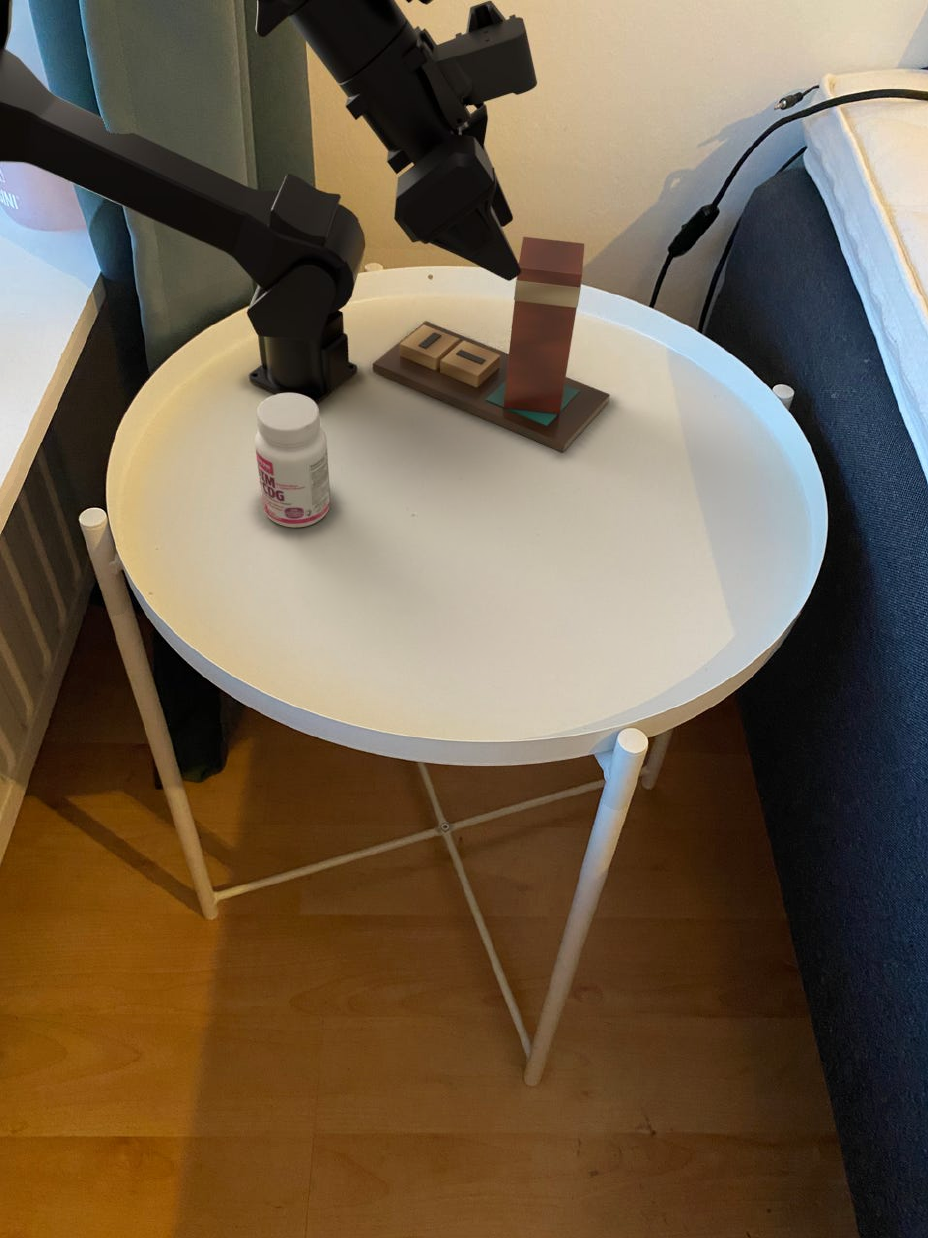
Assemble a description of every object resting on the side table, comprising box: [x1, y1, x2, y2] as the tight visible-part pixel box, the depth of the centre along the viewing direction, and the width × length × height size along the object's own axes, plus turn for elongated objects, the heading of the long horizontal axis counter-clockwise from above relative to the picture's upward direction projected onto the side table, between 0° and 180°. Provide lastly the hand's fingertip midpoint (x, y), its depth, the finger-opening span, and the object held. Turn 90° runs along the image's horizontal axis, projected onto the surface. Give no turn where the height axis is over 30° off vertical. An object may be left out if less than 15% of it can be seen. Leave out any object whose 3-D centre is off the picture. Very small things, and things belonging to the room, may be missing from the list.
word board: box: [372, 320, 611, 453], centre depth 79 cm, size 18×8×2 cm, turn 58°
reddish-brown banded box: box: [503, 236, 585, 414], centre depth 74 cm, size 5×5×12 cm
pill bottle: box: [254, 393, 331, 528], centre depth 66 cm, size 5×5×8 cm
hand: (511, 248), depth 70 cm, fingers open, 9 cm apart
